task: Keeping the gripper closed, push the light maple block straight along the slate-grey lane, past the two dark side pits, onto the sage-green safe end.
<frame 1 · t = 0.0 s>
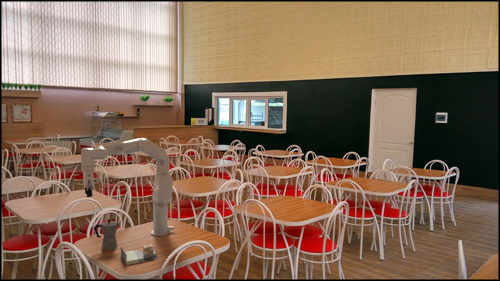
hand: (88, 195, 230), 31 cm above the table, tool pointing down, fingers open, 9 cm apart
maple block: (148, 252, 216), point 2 cm above the table, touching trap lane
coffeepot: (107, 248, 227), on the table
trap lane: (139, 257, 214), on the table
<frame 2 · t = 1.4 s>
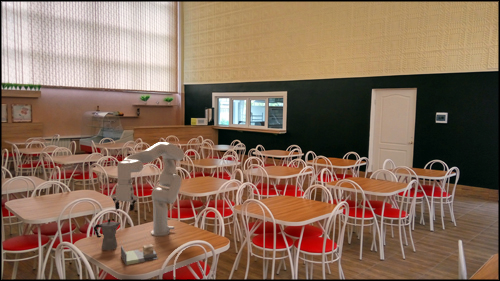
hand: (124, 209, 224), 24 cm above the table, tool pointing down, fingers open, 9 cm apart
nothing on the table moved.
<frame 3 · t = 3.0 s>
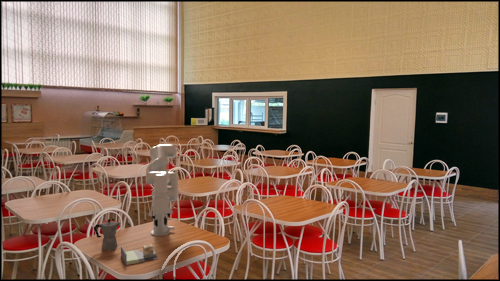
hand: (160, 225, 218), 17 cm above the table, tool pointing down, fingers open, 4 cm apart
nothing on the table moved.
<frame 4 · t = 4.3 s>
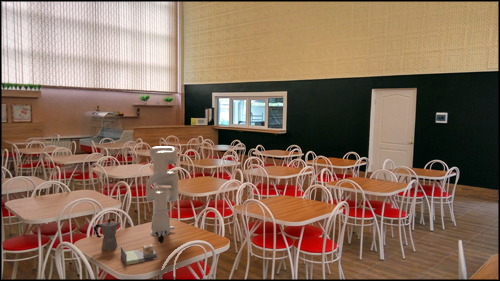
hand: (160, 242, 219), 7 cm above the table, tool pointing down, fingers closed
nothing on the table moved.
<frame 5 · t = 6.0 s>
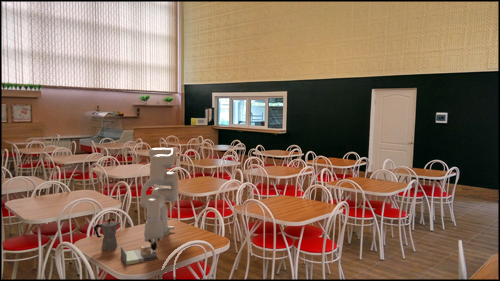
hand: (153, 249, 218), 3 cm above the table, tool pointing down, fingers closed
maple block: (145, 252, 215), point 2 cm above the table, touching gripper, trap lane
everything else where it was.
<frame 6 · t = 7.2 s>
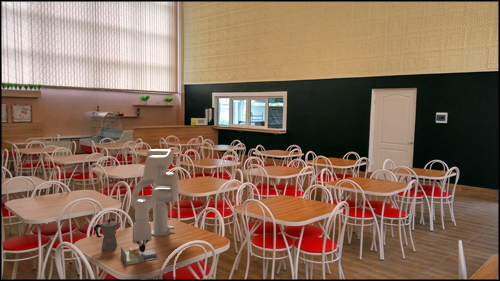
hand: (142, 251, 214), 3 cm above the table, tool pointing down, fingers closed
maple block: (134, 255, 212), point 2 cm above the table, touching gripper, trap lane
everything else where it was.
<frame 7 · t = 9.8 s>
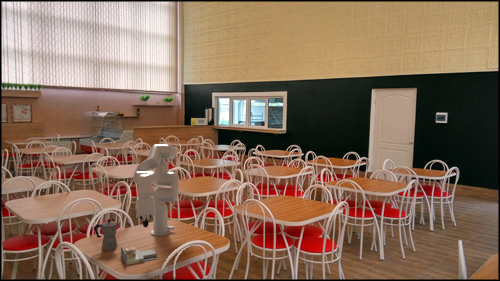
hand: (145, 226, 214), 18 cm above the table, tool pointing down, fingers closed
maple block: (130, 255, 211), point 2 cm above the table, touching trap lane
everything else where it was.
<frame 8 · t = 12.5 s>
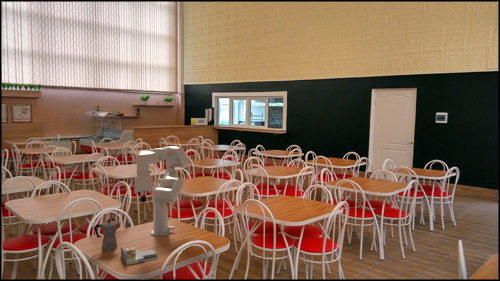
hand: (143, 202, 232), 27 cm above the table, tool pointing down, fingers closed
nothing on the table moved.
at the end: maple block 0.3 cm from the target spot on the trap lane, point 2.0 cm above the trap lane's base; maple block tilted 0° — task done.
